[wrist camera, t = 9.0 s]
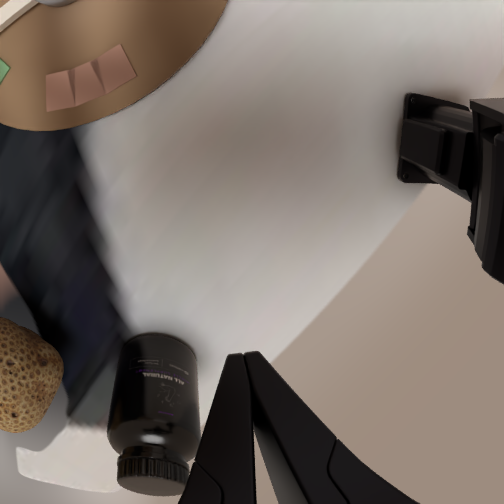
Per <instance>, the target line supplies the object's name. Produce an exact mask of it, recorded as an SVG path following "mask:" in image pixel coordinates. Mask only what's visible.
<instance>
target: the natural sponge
mask: <svg viewBox="0 0 504 504" xmlns="http://www.w3.org/2000/svg"><path fill="white" fill-rule="evenodd" d="M62 376H63V361H62V359H61V357H60V355H59V353H58V351H57V350H56V349H55V348H54V347H53V346H52V345H50V344H49V343H47V342H46V341H45V340H43V339H42V338H41V337H40V336H39V335H38V334H36V333H35V332H33V331H31V330H29V329H27V328H25V327H22V326H18V325H17V324H16V323H14V322H12V321H10V320H9V319H6V318H1V317H0V429H2V430H4V431H8V432H12V433H18V432H24V431H27V430H29V429H31V428H33V427H34V426H36V425H37V424H38V423H39V422H40V421H41V420H42V418H43V417H44V415H45V413H46V411H47V409H48V407H49V406H50V404H51V402H52V400H53V398H54V396H55V394H56V392H57V390H58V388H59V385H60V383H61V381H62Z"/></svg>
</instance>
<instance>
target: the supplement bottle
mask: <svg viewBox="0 0 504 504" xmlns="http://www.w3.org/2000/svg"><path fill="white" fill-rule="evenodd" d="M200 431H201V430H200V414H199V395H198V373H197V362H196V358H195V356H194V354H193V353H192V351H191V350H190V349H189V348H188V347H187V346H186V345H184V344H183V343H181V342H180V341H178V340H176V339H173V338H170V337H167V336H162V335H144V336H140V337H137V338H134V339H132V340H131V341H129V342H128V343H127V344H126V345H125V346H124V347H123V349H122V351H121V353H120V357H119V362H118V366H117V371H116V376H115V382H114V388H113V393H112V399H111V405H110V412H109V419H108V426H107V437H108V440H109V443H110V444H111V446H112V448H113V449H114V450H115V451H116V452H117V453H118V454H119V455H120V456H119V457H118V459H117V466H118V470H117V482H118V484H120V486H122V487H123V488H125V489H127V490H130V491H133V492H136V493H140V494H145V495H152V496H175V495H180V494H182V493H183V491H184V488H185V485H186V483H187V480H188V477H189V473H190V471H189V465H188V464H187V463H186V462H188V461H190V460H191V459H193V458H194V457H195V456H196V453H197V450H198V447H199V444H200V440H201V432H200Z"/></svg>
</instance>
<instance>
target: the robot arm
mask: <svg viewBox="0 0 504 504" xmlns="http://www.w3.org/2000/svg"><path fill="white" fill-rule="evenodd" d="M412 97H413V103H412V102H411V99H412ZM470 109H471V110H472V112H470V110H469V108H468V107H467V106H464V105H460V104H456V103H453V102H449V101H445V100H441V99H437V98H433V97H429V96H424V95H420V94H415V93H408V94H407V95H406V97H405V108H404V121H403V128H402V138H401V148H400V160H399V167H398V179H399V180H400V181H402V182H404V183H432V184H440V185H442V186H444V187H445V188H447V189H449V190H451V191H452V192H454V193H456V194H458V195H459V196H461V197H463V198H464V199H466V200H468V201H469V202H471V203H472V204H471V216H470V226H468V232H467V235H468V236H469V238H470V240H471V241H472V243H473V244H474V246H475V251H476V253H477V255H478V256H479V258H480V260H481V261H482V268H483V269H484V271H486V272H487V273H488V274H489V275H490V276H491V277H492V278H494V279H495V280H497V281H499V282H500V283H502V284H504V98H490V99H471V100H470ZM405 173H406V175H405V177H404V178H403V175H404V174H405ZM253 428H254V429H253ZM253 430H254V431H253ZM254 432H255V435H256V438H257V441H258V444H259V447H260V450H261V453H262V457H263V460H264V463H265V465H266V468H267V471H268V474H269V477H270V480H271V483H272V486H273V489H274V492H275V494H276V497H277V500H278V503H279V504H420V503H418V502H416V501H414V500H413V499H411V498H410V497H408V496H407V495H405V494H404V493H403V492H401V491H400V490H398V489H397V488H396V487H394V486H393V485H391V484H390V483H388V482H387V481H386V480H384V479H383V478H382V477H380V476H379V475H378V474H376V473H375V472H374V471H373V470H371V469H370V468H369V467H368V466H366V465H365V464H364V463H363V462H361V461H360V460H359V459H358V458H357V457H356V456H355V455H354V454H353V453H352V452H351V451H350V450H349V449H348V448H347V447H346V446H345V445H344V444H343V443H342V442H341V441H340V440H339V439H337V437H336V436H335V435H334V434H333V433H332V432H331V431H330V430H329V429H328V428H327V426H326V425H325V424H324V423H323V422H322V421H321V420H320V419H319V418H318V417H317V416H316V415H315V414H314V413H313V411H312V410H311V409H310V408H309V407H308V406H307V405H306V404H305V403H304V402H303V400H302V399H301V398H300V397H299V396H298V395H297V394H296V393H295V392H294V390H292V388H291V387H290V386H289V385H288V384H287V383H286V382H285V381H284V379H283V378H282V377H281V376H280V375H279V374H278V373H277V371H276V370H275V369H274V368H273V367H272V366H271V364H270V363H269V362H268V361H267V360H266V359H265V358H264V356H263V355H262V354H261V353H260V352H259V351H252V352H245V353H244V354H242V353H235V354H229V355H228V356H227V358H226V361H225V364H224V367H223V370H222V374H221V377H220V380H219V383H218V386H217V390H216V393H215V396H214V399H213V402H212V406H211V409H210V412H209V415H208V418H207V421H206V425H205V428H204V431H203V434H202V437H201V440H200V444H199V447H198V450H197V453H196V456H195V459H194V460H195V462H194V463H193V465H192V468H191V471H190V475H189V477H188V480H187V483H186V485H185V488H184V491H183V493H182V496H181V498H180V500H179V502H178V504H257V500H256V479H255V455H254ZM336 439H337V440H336Z"/></svg>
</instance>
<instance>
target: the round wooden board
mask: <svg viewBox="0 0 504 504" xmlns="http://www.w3.org/2000/svg"><path fill="white" fill-rule="evenodd" d="M8 1H10V0H0V8H1V7H2V6H3V5H5V4H6V3H7V2H8ZM227 1H228V0H76V1H74V2H72V3H70V4H68V5H65V6H61V7H50V6H47V5H44V4H42V3H37V4H36V5H34V6H33V7H32V8H30V9H29V10H28V11H26V12H25V13H24V14H22V15H21V16H20V17H18V18H17V19H16V20H15V21H13V22H12V23H11V24H10V25H8V26H7V27H6V28H5V29H4V30H2V31H1V32H0V123H2V124H4V125H7V126H11V127H14V128H18V129H24V130H32V131H53V130H59V129H66V128H72V127H75V126H79V125H82V124H86V123H90V122H92V121H95V120H98V119H100V118H103V117H105V116H108V115H110V114H113V113H116V112H118V111H119V110H121V109H123V108H125V107H127V106H129V105H131V104H133V103H135V102H137V101H138V100H140V99H141V98H143V97H144V96H146V95H148V94H149V93H151V92H152V91H154V90H155V89H156V88H158V87H159V86H160V85H162V84H163V83H164V82H165V81H167V80H168V79H169V78H171V77H172V76H173V75H174V74H175V73H176V72H177V71H178V70H179V69H180V68H181V67H182V66H184V65H185V64H186V63H187V62H188V60H189V59H190V58H191V57H192V56H193V55H194V54H195V53H196V51H197V50H198V49H199V48H200V47H201V46H202V44H203V43H204V42H205V40H206V39H207V37H208V36H209V35H210V33H211V32H212V31H213V29H214V27H215V25H216V24H217V22H218V20H219V18H220V17H221V15H222V13H223V11H224V8H225V6H226V3H227Z"/></svg>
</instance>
